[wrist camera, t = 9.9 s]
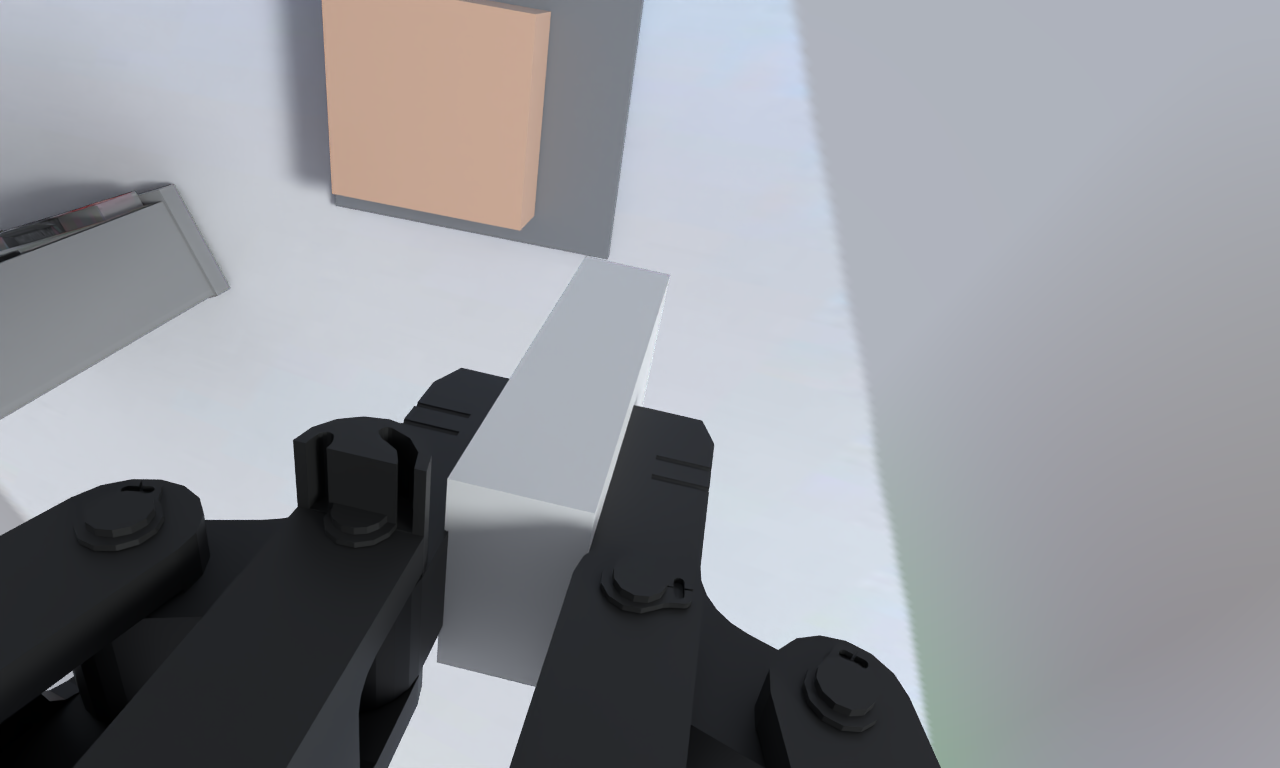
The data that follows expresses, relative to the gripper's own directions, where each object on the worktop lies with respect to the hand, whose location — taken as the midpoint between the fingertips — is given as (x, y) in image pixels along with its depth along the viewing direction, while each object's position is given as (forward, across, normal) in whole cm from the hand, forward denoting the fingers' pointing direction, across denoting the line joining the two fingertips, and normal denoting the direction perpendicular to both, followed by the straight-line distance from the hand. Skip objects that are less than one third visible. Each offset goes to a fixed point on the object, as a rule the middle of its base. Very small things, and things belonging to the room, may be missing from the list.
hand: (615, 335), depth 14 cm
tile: (+22, -7, -2) cm, 23 cm away
